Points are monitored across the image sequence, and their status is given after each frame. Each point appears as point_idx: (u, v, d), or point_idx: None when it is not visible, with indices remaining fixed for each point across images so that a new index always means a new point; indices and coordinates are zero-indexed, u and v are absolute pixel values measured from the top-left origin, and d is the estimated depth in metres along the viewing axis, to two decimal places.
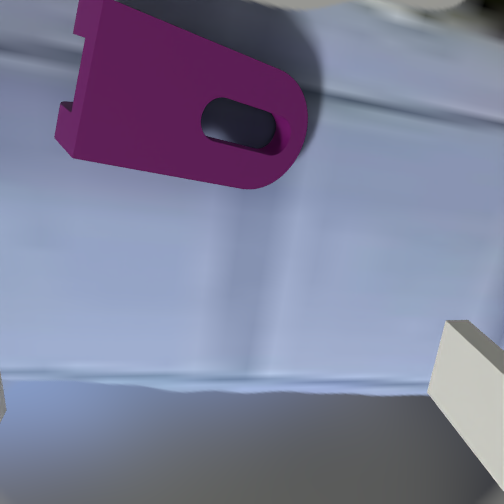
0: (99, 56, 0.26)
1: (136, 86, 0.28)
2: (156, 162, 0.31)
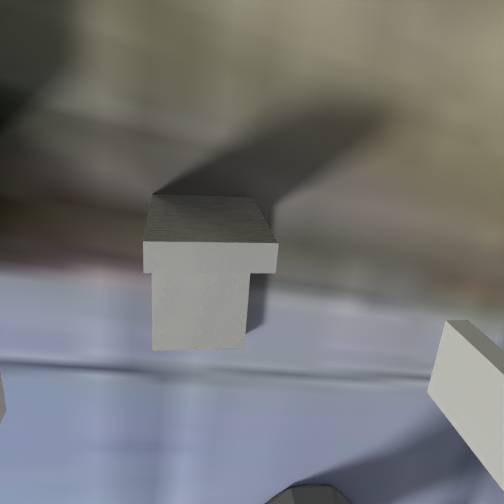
0: None
1: None
2: None
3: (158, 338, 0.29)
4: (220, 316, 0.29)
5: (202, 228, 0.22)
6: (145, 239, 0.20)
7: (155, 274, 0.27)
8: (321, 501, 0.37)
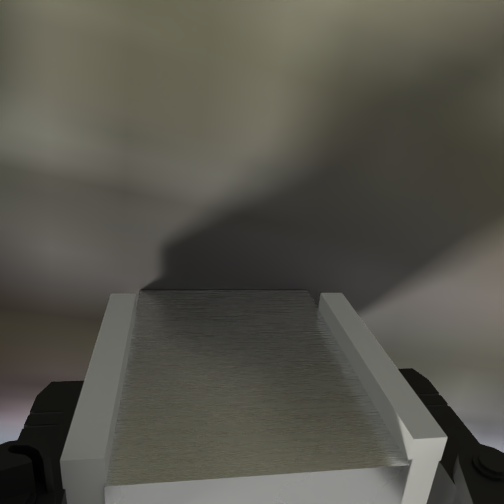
0: None
1: None
2: None
3: None
4: None
5: (235, 408, 0.10)
6: (110, 475, 0.08)
7: None
8: None
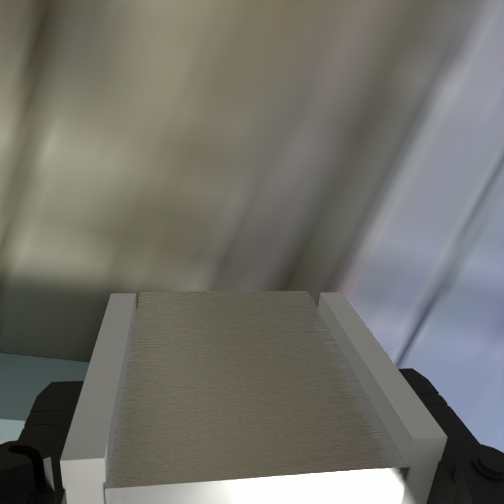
0: None
1: None
2: None
3: None
4: None
5: (236, 411, 0.10)
6: (111, 477, 0.08)
7: None
8: None
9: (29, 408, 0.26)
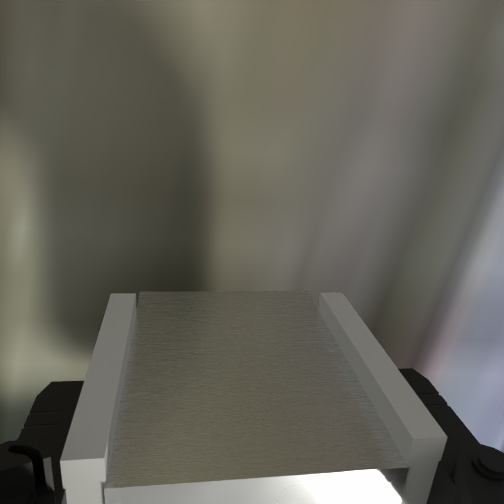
0: None
1: None
2: None
3: None
4: None
5: (235, 411, 0.10)
6: (110, 477, 0.08)
7: None
8: None
9: None
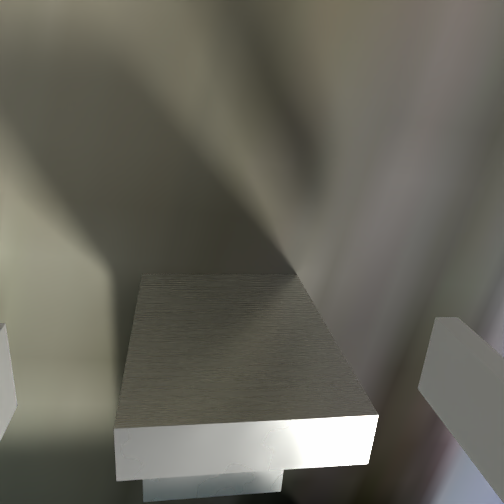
0: None
1: None
2: None
3: (152, 485, 0.19)
4: None
5: (228, 371, 0.12)
6: (119, 420, 0.10)
7: None
8: None
9: None
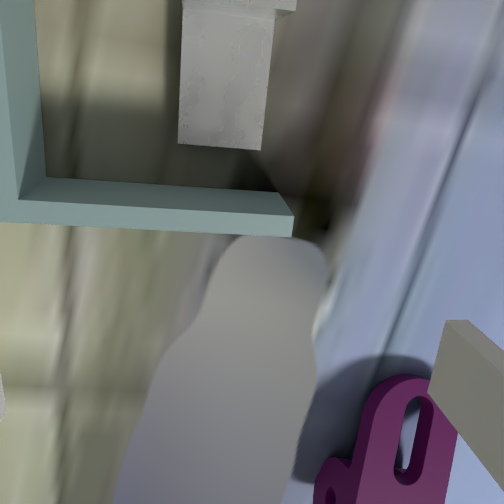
0: None
1: None
2: None
3: (183, 130, 0.32)
4: (240, 113, 0.32)
5: None
6: None
7: (184, 61, 0.30)
8: None
9: (119, 201, 0.30)
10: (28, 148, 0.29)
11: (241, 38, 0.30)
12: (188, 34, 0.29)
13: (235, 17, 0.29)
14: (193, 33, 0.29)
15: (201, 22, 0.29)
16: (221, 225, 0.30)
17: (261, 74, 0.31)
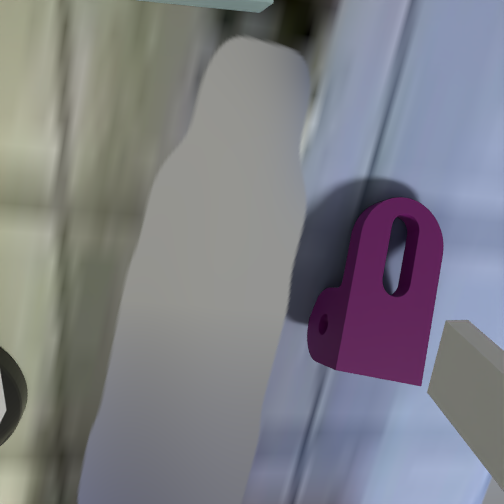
0: (365, 371, 0.43)
1: (380, 346, 0.43)
2: (423, 329, 0.45)
3: None
4: None
5: None
6: None
7: None
8: None
9: None
10: None
11: None
12: None
13: None
14: None
15: None
16: None
17: None
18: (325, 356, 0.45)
